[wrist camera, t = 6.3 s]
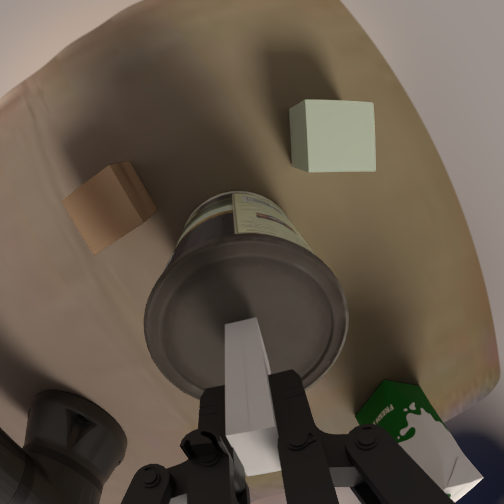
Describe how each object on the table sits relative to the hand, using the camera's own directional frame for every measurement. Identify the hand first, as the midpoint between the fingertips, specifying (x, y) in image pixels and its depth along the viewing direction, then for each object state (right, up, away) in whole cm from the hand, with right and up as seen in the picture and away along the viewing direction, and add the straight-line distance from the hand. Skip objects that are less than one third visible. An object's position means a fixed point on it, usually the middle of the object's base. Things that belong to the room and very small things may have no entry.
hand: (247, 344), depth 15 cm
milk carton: (+19, -16, +22) cm, 33 cm away
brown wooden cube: (-11, +9, +12) cm, 18 cm away
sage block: (+6, +14, +11) cm, 19 cm away
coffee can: (-1, +5, +14) cm, 15 cm away
